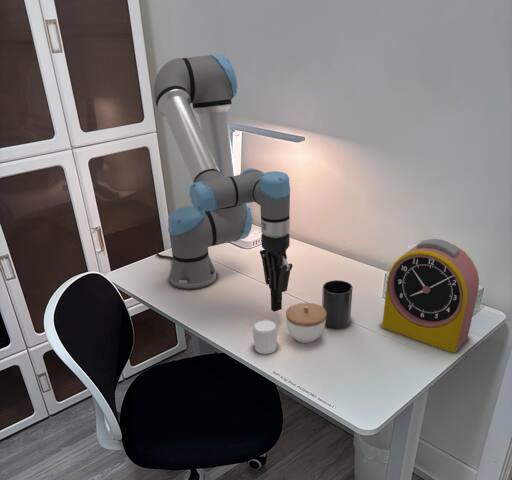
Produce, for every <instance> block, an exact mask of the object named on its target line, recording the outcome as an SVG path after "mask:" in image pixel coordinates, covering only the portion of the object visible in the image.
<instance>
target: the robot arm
mask: <svg viewBox="0 0 512 480" xmlns="http://www.w3.org/2000/svg"><path fill="white" fill-rule="evenodd" d="M237 89H238V81H237V76H236V72H235V68H234V67H233V65H232V63H231V61H230V59H228V57H226V56H225V55H221V54H208V55H201V56H198V55H197V56H191V57H176V58H173V59H170V60H168V61H167V62H166V63H165V64H163V65H162V67H161V68H160V69H159V71H158V73H157V74H156V76H155V80H154V84H153V99H154V102H155V105H156V108H157V111H158V112H159V114H160V115H161V116H163V117H164V118H165V120H166V122H167V124H168V127H169V130H170V131H171V134H172V136H173V139H174V141H175V143H176V145H177V147H178V149H179V153H180V154H181V157H182V159H183V161H184V164H185V166H186V168H187V171H188V173H189V175H190V178H191V180H192V182H193V183H191V184H190V185H189V198H190V201H191V202H190V203H191V205H186V206H183V207H179V208H177V209H175V210H173V212H172V213H170V214H169V216H168V219H167V223H168V224H167V226H168V229H167V231H168V234H169V241H170V248H171V254H172V256H169V255H163V254H159V251H158V248H154V252H155V254H156V256H157V257H159V258H162V259H163V258H164V259H170V260H172V262H171V267H170V272H169V280H170V281H169V282H170V284H171V285H172V286H173V287H175V288H178V289H182V290H197V289H201V288H205V287H208V286H210V285H211V284H213V283H214V282H215V281H216V279H217V271H216V269H215V267H214V264H213V261H212V259H211V258H210V255H209V248H210V247H215V246H219V245H224V244H228V243H232V242H238V241H241V240H244V239H246V238H248V237H249V235H250V233H251V231H252V227H253V214H252V211H251V207H250V204H251V203H256V204H257V205H259V207H260V229H261V234H260V235H261V237H260V238H261V239H260V240H261V248H262V250H259V255H260V257H261V263H262V267H263V268H262V269H263V274H264V275H263V276H264V281H265V285H268V289H270V310H271V311H272V312H273V313H275V312H278V311H281V310H283V293H284V292H287V291H288V287H289V281H290V275H291V271H292V269H293V264H292V263H289V261H288V260H287V259H288V256H287V250H288V249H289V247H290V245H291V244H290V240H291V238H290V235H291V234H290V232H291V222H290V221H291V217H290V214H291V213H290V211H291V210H290V209H291V186H290V177H289V175H288V174H287V172H283V171H277V170H272V171H266V172H263V171H262V170H260V169H256V168H252V167H248V168H247V169H244V170H243V171H242V172H240V174H236V169H235V161H234V152H233V146H232V145H233V143H232V137H231V128H230V121H229V113H228V112H229V110H230V108H231V107H232V106H233V104H232V103H233V102H232V99H234V98H235V97H236V96H237V92H238V90H237ZM194 112H195V113H196V114H197V115H198V116H199V122H200V123H198V120H197V117H196V115H195V114H194ZM199 124H200V125H199Z"/></svg>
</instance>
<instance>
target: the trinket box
mask: <svg viewBox="0 0 512 480" xmlns="http://www.w3.org/2000/svg"><path fill="white" fill-rule="evenodd" d="M326 316H327V312H326V310H325V309H324V308H323V307H322V305H320V304H317V303H313V302H299V303H296V304H293V305H291V306H289V307H288V308H287V310H286V311H285V318H286V327H287V330H288V332H289V334H290V335H291V337H292V338H293V339H295V340H296V341H297V342H299V343H302V344H311V343H314V342H315V341H316V340H318V338H320V336H322V334H323V333H324V331H325V328H326V326H325V324H326Z"/></svg>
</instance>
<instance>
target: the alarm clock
mask: <svg viewBox="0 0 512 480" xmlns="http://www.w3.org/2000/svg"><path fill="white" fill-rule="evenodd" d="M479 286H480V277H479V273H478V269H477V267H476V265H475V263H474V261H473V260H472V258H471V257H470V256H469V255H468V254H467V253H466V252H465V251H464V250H463V249H461V248H460V247H458V246H457V245H455V244H453V243H451V242H448V241H446V240H443V239H440V238H429V239H423V240H422V241H420V242H418V243H417V244H416V245H415V246H413V247H412V248H411V249H409V250H408V251H406V252H405V253H403V254H402V255H401V256H400V257H399V258H397V259H396V261H395V262H393V264H392V266H391V268H390V270H389V272H388V275H387V280H386V289H385V299H384V307H383V316H382V325H381V327H382V329H385V330H388V331H391V332H393V333H396V334H399V335H401V336H405V337H407V338H410V339H413V340H416V341H419V342H421V343H425V344H426V345H429V346H433V347H436V348H438V349H441V350H444V351H446V352H449V353H456V352H458V350H459V349H460V348H461V347H462V346H463V345H464V344H465V343H466V341H467V340H468V338H469V333H470V329H471V325H472V321H473V320H472V319H473V316H474V310H475V306H476V304H477V297H478V294H479V293H478V292H479Z"/></svg>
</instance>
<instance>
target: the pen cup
mask: <svg viewBox="0 0 512 480" xmlns="http://www.w3.org/2000/svg"><path fill="white" fill-rule="evenodd" d="M353 288H354V287H353V285H352V284H351V283H350V282H348V281H345V280H339V279H336V280H330V281H327V282H325V283H324V284H323V286H322V291H321V293H322V295H321V306H322V307H323V308H324V309H325V310H326V312H327V316H326V324H325V328H328V329H333V330H339V329H345V328H347V327H348V326H350V324H351V317H352V302H353V290H354V289H353Z"/></svg>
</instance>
